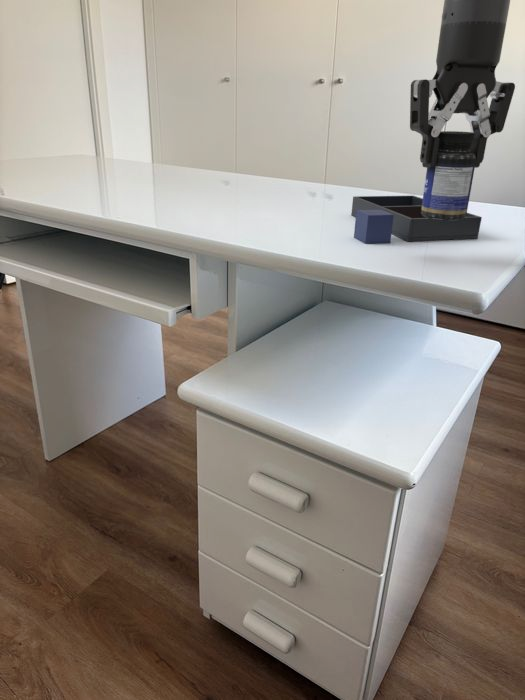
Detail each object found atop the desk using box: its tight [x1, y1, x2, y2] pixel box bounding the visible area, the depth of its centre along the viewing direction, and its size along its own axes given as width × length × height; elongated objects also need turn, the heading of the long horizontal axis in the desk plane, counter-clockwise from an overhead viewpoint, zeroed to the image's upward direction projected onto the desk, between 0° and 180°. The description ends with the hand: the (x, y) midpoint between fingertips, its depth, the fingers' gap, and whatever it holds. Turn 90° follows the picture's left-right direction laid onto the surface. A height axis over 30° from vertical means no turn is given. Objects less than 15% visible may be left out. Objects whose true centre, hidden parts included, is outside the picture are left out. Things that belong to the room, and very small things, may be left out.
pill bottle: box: [421, 130, 476, 221], centre depth 72 cm, size 6×6×11 cm
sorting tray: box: [350, 195, 483, 242], centre depth 97 cm, size 13×22×4 cm, turn 16°
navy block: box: [353, 210, 394, 245], centre depth 86 cm, size 4×4×4 cm
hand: (450, 166), depth 72 cm, fingers closed on pill bottle, 6 cm apart
